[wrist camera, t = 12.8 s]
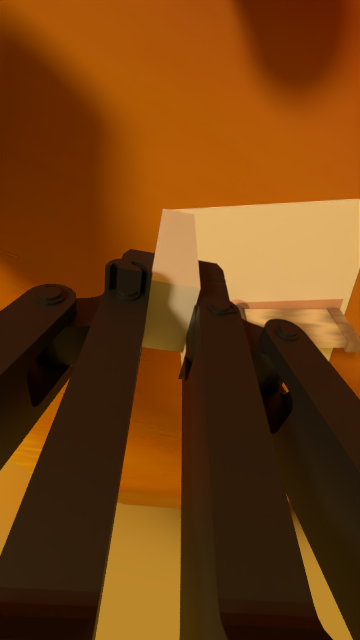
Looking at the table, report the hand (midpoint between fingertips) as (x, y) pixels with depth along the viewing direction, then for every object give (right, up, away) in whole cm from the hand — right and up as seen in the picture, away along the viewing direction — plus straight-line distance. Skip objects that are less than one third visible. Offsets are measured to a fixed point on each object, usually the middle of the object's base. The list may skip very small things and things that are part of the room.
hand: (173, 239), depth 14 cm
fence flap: (+19, -3, +34) cm, 39 cm away
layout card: (+14, -2, +35) cm, 38 cm away
